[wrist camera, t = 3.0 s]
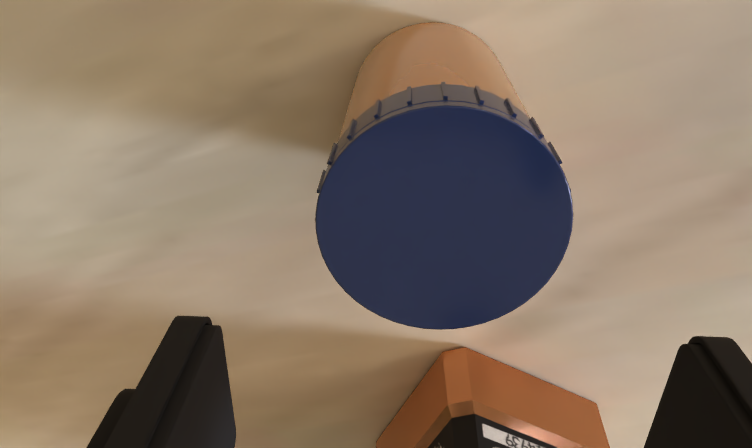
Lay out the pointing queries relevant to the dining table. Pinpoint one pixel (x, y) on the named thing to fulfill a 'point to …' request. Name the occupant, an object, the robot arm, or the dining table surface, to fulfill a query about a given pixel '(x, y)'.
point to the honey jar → (427, 66)
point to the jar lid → (443, 208)
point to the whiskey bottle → (491, 410)
